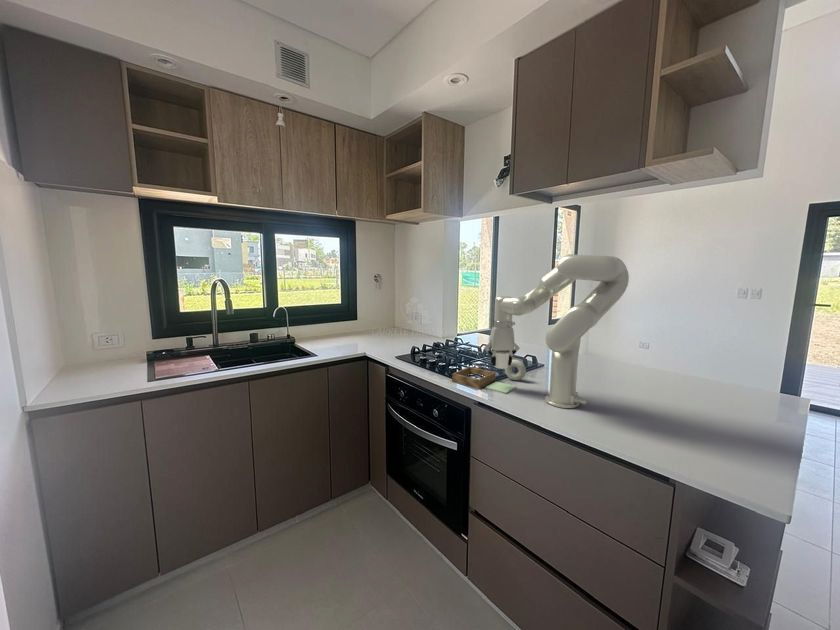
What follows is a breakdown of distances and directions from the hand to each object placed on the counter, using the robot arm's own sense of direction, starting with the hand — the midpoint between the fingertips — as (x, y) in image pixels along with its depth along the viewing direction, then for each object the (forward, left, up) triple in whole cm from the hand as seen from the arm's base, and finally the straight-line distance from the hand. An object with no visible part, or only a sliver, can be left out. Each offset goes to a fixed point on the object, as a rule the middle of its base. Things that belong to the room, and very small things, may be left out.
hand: (501, 364), depth 149 cm
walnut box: (+14, 0, -11) cm, 17 cm away
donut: (0, -14, -11) cm, 18 cm away
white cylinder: (0, 0, -1) cm, 1 cm away
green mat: (0, 0, -11) cm, 11 cm away
